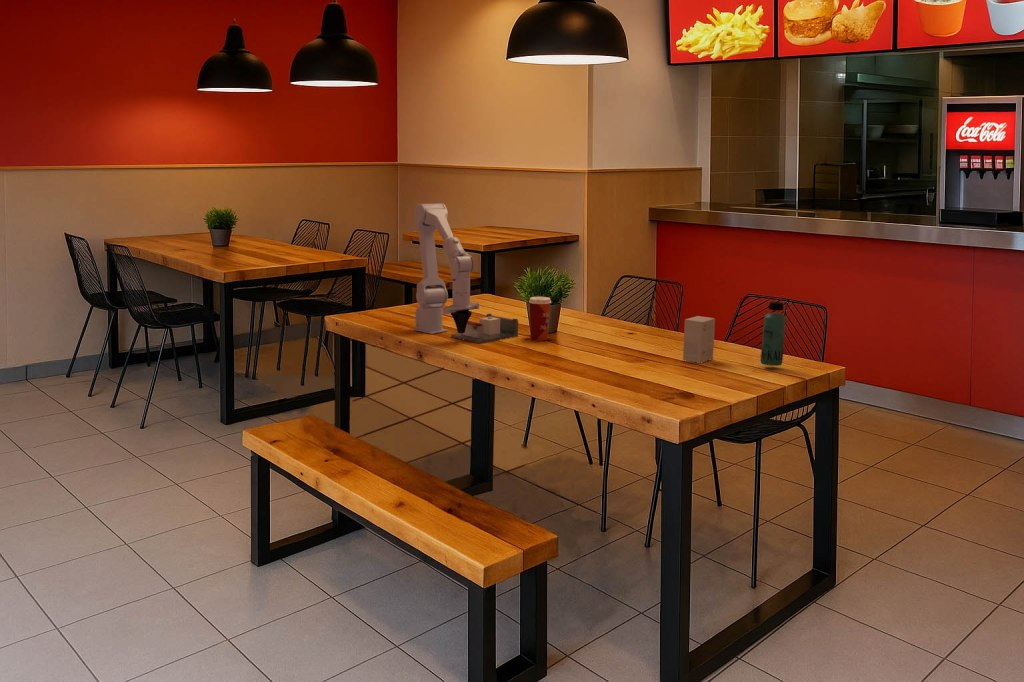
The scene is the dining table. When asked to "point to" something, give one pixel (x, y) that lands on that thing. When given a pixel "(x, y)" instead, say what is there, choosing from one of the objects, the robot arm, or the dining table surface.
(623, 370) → the dining table surface
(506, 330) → the press
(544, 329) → the paper cup
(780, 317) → the beverage bottle
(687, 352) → the small box
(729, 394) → the dining table surface
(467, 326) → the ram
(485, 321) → the block
